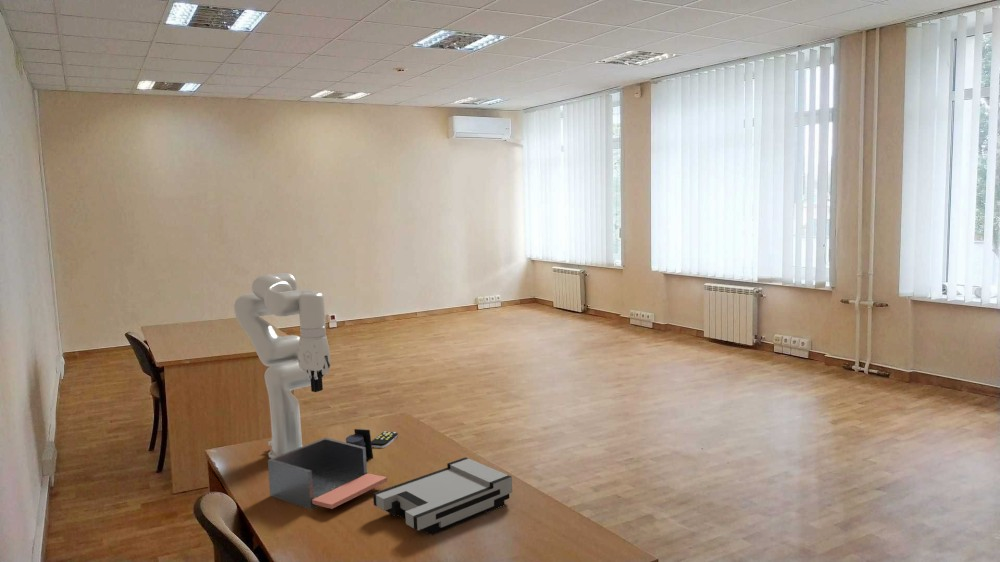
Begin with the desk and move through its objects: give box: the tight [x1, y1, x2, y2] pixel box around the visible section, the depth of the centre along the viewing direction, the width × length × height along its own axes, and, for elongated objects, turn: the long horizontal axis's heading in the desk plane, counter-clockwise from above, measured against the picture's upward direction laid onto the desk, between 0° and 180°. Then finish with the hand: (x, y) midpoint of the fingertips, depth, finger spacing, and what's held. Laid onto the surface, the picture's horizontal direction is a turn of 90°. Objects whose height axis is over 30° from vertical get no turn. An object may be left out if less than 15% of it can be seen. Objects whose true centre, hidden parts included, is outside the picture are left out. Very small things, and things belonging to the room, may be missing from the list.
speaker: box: [345, 428, 374, 459], centre depth 235 cm, size 8×6×10 cm
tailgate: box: [312, 472, 388, 510], centre depth 206 cm, size 1×22×8 cm
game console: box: [372, 456, 513, 536], centre depth 197 cm, size 21×32×8 cm, turn 131°
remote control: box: [371, 430, 399, 449], centre depth 254 cm, size 6×13×2 cm, turn 164°
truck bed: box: [267, 437, 368, 510], centre depth 213 cm, size 18×22×11 cm
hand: (317, 390), depth 222 cm, fingers closed
